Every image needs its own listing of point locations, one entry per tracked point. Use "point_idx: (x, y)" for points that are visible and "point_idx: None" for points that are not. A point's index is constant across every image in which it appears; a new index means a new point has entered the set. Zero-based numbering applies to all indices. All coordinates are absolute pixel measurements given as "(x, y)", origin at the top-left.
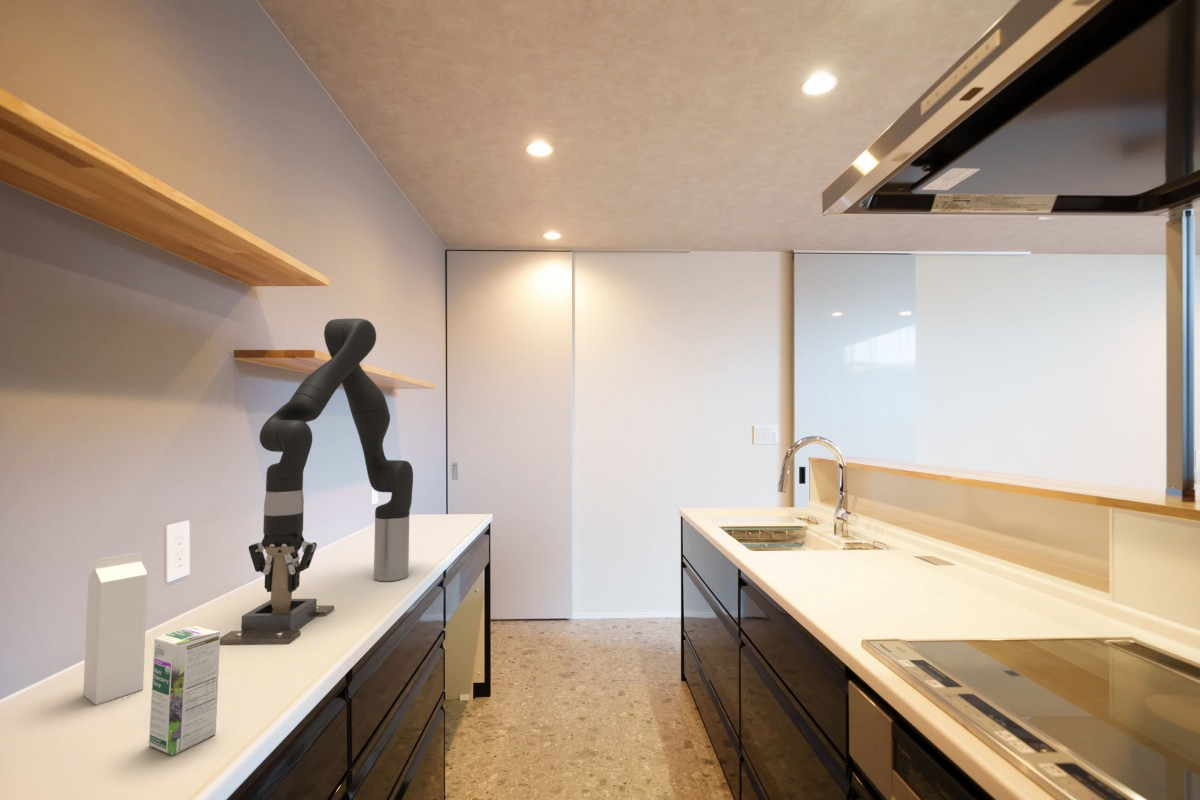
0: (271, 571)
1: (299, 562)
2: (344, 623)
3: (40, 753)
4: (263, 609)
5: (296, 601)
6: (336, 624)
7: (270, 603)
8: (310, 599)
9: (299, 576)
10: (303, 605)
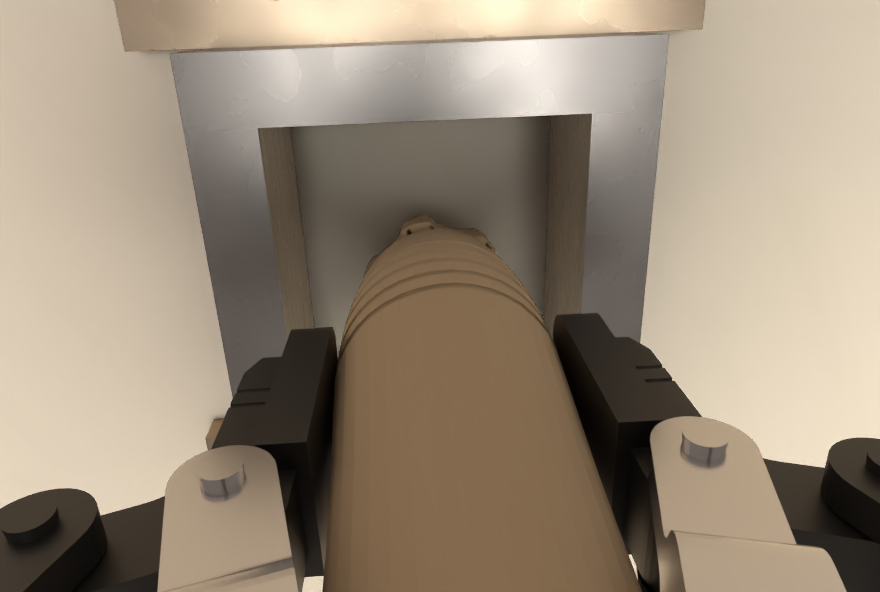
0: (300, 570)
1: (791, 531)
2: (875, 182)
3: None
4: (288, 315)
5: (485, 117)
6: (822, 203)
7: (265, 205)
8: (611, 62)
9: (693, 408)
10: (620, 251)
